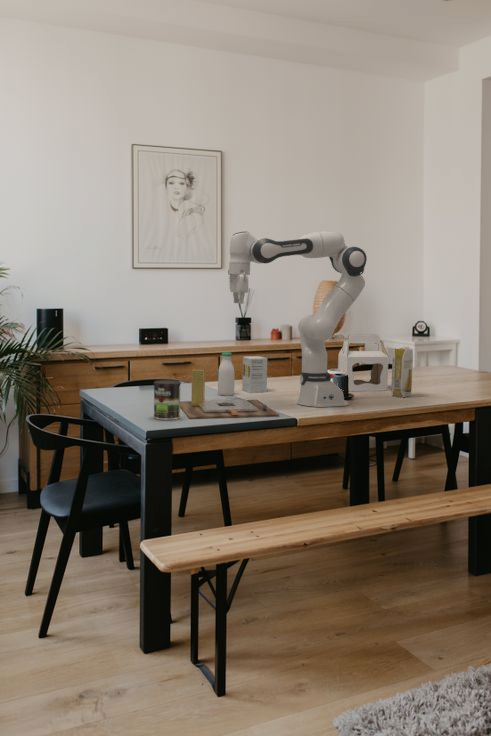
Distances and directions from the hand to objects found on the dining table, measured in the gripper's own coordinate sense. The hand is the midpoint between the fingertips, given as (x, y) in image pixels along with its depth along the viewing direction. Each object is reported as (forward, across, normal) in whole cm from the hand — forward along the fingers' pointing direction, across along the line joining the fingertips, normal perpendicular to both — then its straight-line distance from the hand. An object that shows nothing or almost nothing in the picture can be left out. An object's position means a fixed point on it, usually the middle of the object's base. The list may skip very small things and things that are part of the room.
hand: (238, 303), depth 293 cm
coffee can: (+45, -24, +32) cm, 60 cm away
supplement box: (+44, +38, -18) cm, 61 cm away
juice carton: (+43, +13, -84) cm, 95 cm away
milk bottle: (+44, +29, -2) cm, 53 cm away
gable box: (+43, +37, -74) cm, 93 cm away
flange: (+43, -13, +8) cm, 45 cm away
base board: (+44, -10, +6) cm, 45 cm away
